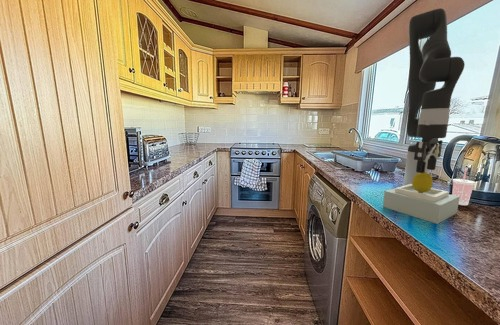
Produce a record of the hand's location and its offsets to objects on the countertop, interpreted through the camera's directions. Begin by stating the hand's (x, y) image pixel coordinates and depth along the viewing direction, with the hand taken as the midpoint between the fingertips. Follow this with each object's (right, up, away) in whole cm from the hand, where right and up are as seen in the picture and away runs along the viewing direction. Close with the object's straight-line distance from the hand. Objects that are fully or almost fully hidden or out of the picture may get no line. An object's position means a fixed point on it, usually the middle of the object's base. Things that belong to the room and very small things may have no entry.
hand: (425, 171), depth 73 cm
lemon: (-1, -8, +2) cm, 8 cm away
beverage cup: (+21, -13, +10) cm, 27 cm away
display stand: (0, -14, +3) cm, 14 cm away
